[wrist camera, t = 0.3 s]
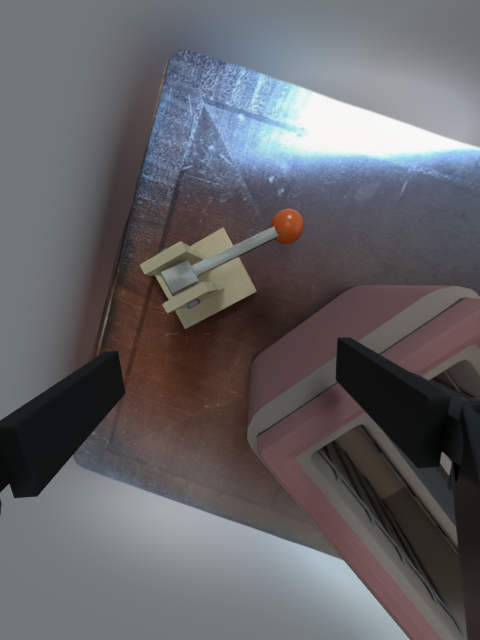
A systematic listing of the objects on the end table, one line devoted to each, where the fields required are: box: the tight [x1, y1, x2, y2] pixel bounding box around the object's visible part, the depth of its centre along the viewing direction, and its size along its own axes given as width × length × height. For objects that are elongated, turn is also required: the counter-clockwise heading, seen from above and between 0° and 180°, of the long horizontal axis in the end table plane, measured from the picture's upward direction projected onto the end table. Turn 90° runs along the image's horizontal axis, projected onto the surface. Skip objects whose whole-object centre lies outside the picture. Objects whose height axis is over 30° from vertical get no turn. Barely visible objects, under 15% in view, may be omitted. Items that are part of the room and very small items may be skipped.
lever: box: [160, 209, 304, 296], centre depth 24 cm, size 16×4×4 cm, turn 118°
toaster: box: [247, 285, 480, 640], centre depth 26 cm, size 19×36×21 cm, turn 38°
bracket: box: [140, 227, 257, 329], centre depth 28 cm, size 12×10×14 cm
